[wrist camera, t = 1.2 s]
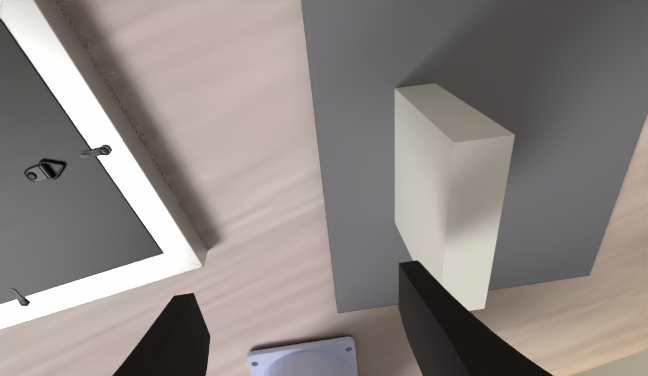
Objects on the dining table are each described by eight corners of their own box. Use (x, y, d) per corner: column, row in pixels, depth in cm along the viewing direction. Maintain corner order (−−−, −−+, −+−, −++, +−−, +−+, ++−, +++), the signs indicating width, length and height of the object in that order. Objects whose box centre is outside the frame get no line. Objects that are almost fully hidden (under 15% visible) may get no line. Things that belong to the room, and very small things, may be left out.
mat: (583, 269, 26) (589, 275, 26) (336, 306, 25) (337, 313, 25) (718, -124, 15) (733, -128, 15) (292, -78, 14) (292, -81, 14)
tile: (427, 217, 22) (484, 308, 16) (394, 222, 22) (439, 315, 15) (434, 82, 18) (514, 134, 12) (394, 88, 18) (454, 142, 12)
